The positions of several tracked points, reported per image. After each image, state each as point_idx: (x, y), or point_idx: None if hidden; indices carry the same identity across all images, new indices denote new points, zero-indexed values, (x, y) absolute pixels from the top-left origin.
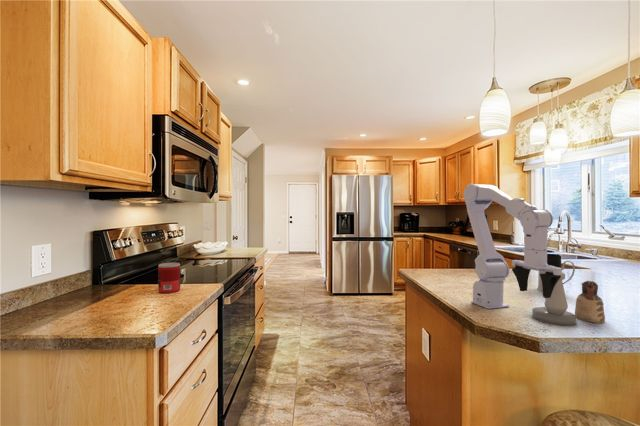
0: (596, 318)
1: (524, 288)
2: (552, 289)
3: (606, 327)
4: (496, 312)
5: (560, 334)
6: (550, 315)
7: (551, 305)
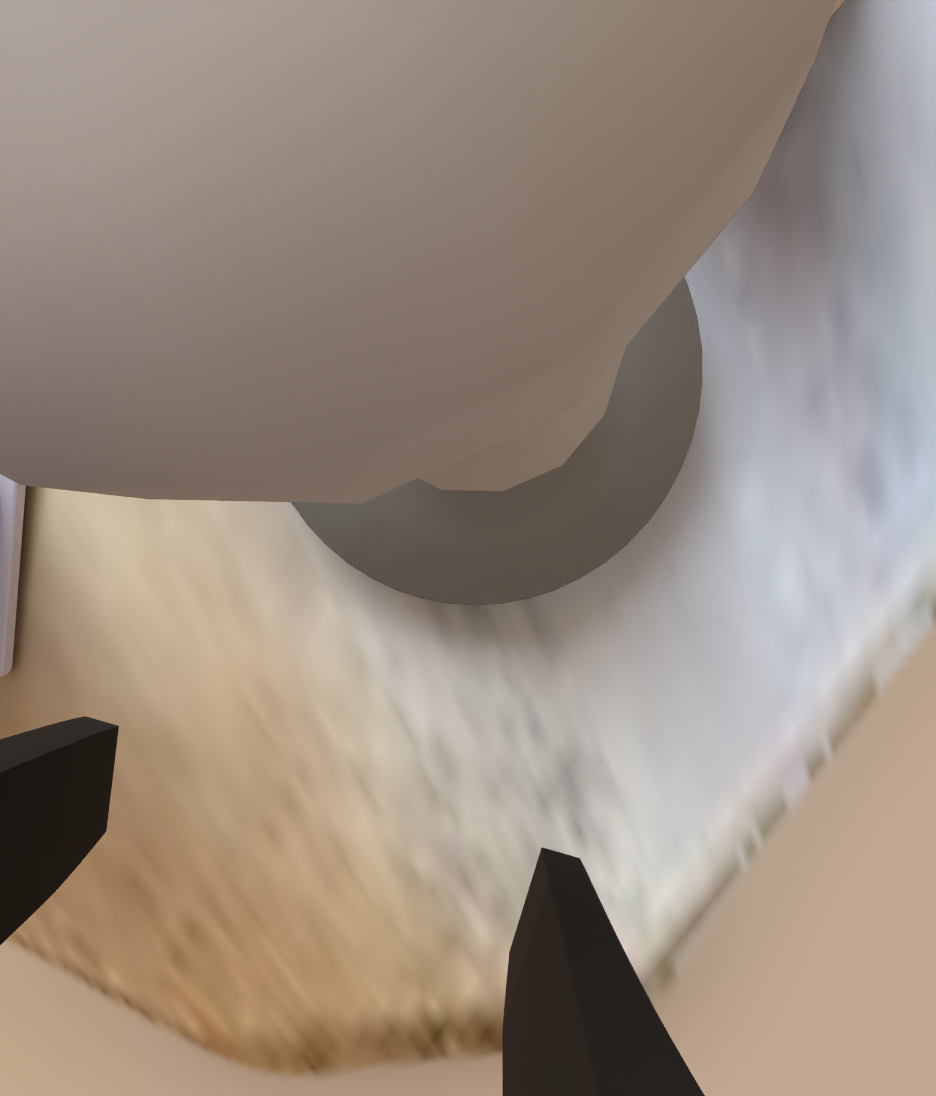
0: (836, 8)
1: (72, 804)
2: (643, 1023)
3: (927, 134)
4: (107, 690)
5: (697, 792)
6: (499, 536)
7: (473, 490)
